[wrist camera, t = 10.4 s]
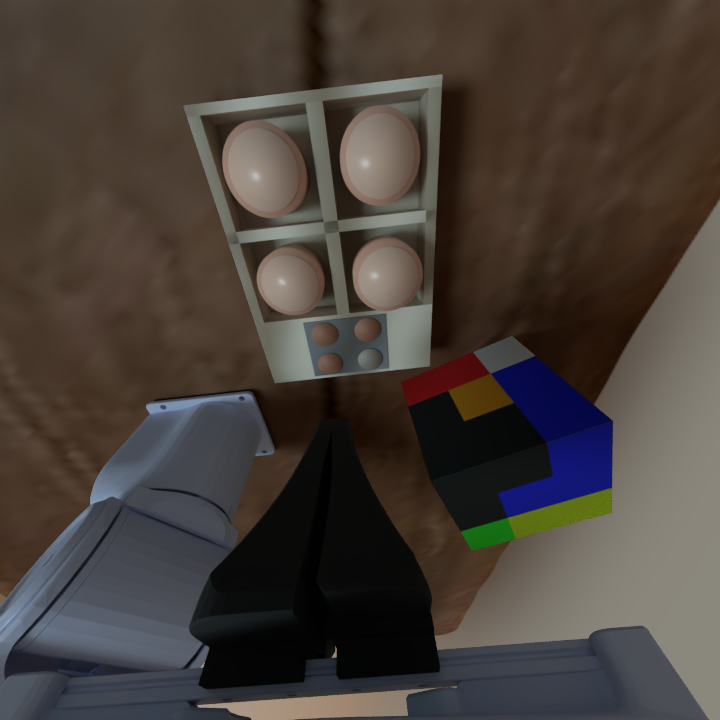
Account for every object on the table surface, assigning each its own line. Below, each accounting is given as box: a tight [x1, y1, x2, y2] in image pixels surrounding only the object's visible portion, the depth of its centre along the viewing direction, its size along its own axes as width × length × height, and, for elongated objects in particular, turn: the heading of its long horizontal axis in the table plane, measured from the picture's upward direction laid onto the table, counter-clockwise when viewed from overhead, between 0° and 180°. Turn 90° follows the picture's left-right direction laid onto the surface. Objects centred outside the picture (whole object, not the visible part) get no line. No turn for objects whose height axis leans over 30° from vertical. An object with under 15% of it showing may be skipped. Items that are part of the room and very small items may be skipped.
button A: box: [257, 243, 326, 315], centre depth 17 cm, size 4×4×2 cm
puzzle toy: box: [401, 336, 613, 551], centre depth 22 cm, size 10×10×10 cm
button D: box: [340, 105, 420, 206], centre depth 14 cm, size 4×4×2 cm
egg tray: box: [184, 74, 442, 383], centre depth 18 cm, size 12×16×3 cm
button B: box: [352, 235, 423, 311], centre depth 16 cm, size 4×4×2 cm
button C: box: [222, 120, 310, 218], centre depth 14 cm, size 4×4×2 cm
